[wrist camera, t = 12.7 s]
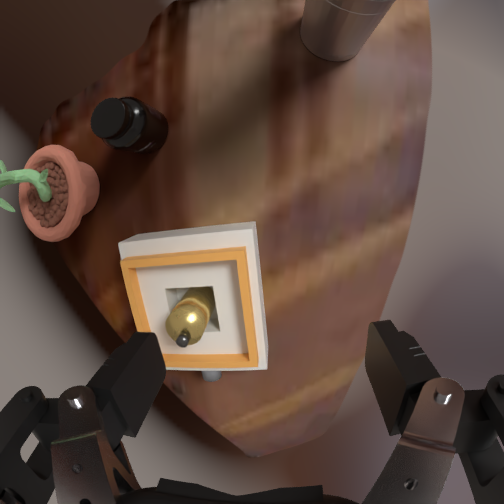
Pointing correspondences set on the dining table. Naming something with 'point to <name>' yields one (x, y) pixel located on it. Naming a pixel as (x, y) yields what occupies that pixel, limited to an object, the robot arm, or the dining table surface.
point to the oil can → (191, 316)
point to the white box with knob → (199, 275)
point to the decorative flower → (53, 192)
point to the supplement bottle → (129, 125)
